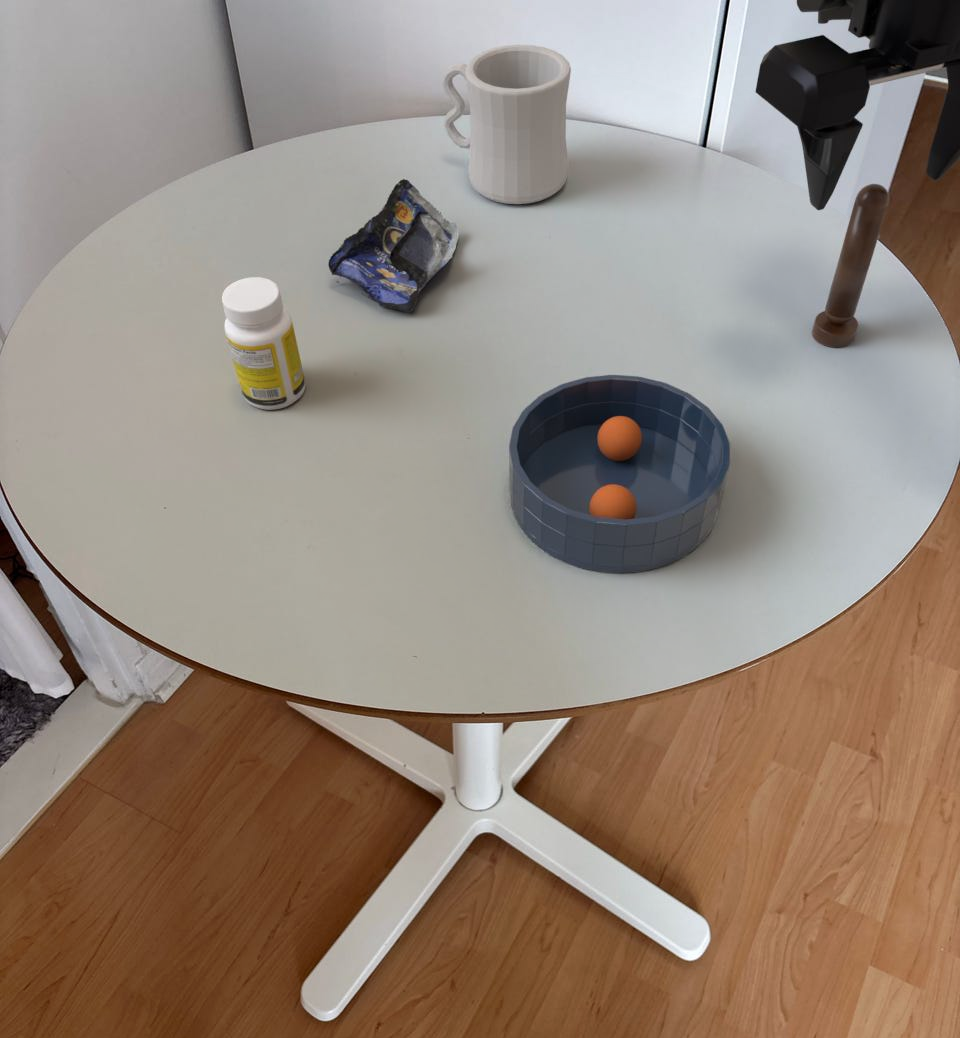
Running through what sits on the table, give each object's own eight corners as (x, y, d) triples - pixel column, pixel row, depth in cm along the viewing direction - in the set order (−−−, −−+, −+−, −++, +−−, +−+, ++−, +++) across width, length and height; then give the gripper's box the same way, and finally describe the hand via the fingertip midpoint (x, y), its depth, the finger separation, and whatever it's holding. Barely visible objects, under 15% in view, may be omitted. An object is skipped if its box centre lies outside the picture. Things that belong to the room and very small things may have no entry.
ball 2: (635, 509, 67) (639, 476, 65) (632, 543, 65) (637, 510, 63) (589, 505, 68) (592, 472, 65) (586, 539, 66) (588, 506, 63)
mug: (585, 171, 94) (591, 56, 86) (536, 218, 90) (537, 102, 82) (472, 139, 98) (468, 27, 90) (419, 182, 94) (410, 69, 86)
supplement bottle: (284, 362, 79) (262, 265, 72) (318, 392, 76) (299, 294, 70) (230, 389, 77) (203, 291, 70) (264, 420, 75) (239, 323, 68)
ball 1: (640, 442, 71) (645, 408, 69) (638, 471, 69) (642, 438, 67) (597, 438, 71) (600, 405, 69) (594, 468, 70) (597, 434, 67)
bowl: (719, 433, 72) (730, 382, 69) (718, 583, 64) (729, 534, 60) (523, 418, 74) (524, 368, 70) (497, 562, 66) (495, 513, 62)
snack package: (504, 288, 84) (443, 216, 90) (492, 221, 78) (428, 150, 84) (375, 352, 83) (322, 275, 89) (353, 288, 77) (298, 211, 83)
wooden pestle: (852, 323, 79) (898, 174, 70) (855, 349, 77) (903, 199, 68) (810, 321, 80) (850, 172, 70) (812, 346, 78) (853, 197, 68)
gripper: (996, -144, 63) (918, 112, 76) (731, -94, 60) (695, 166, 72) (1127, -86, 57) (1018, 183, 69) (839, -26, 53) (779, 247, 66)
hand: (875, 191), depth 69 cm, fingers open, 9 cm apart
